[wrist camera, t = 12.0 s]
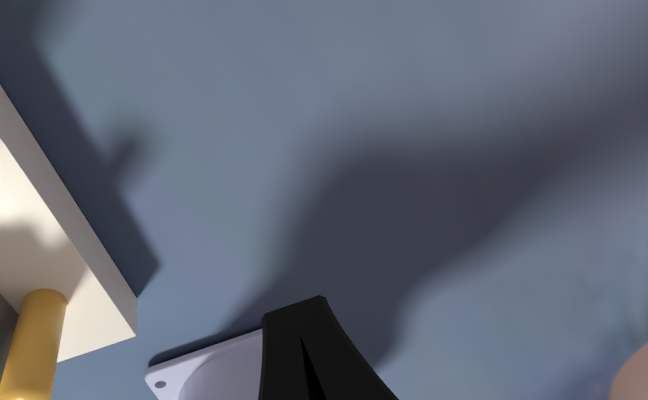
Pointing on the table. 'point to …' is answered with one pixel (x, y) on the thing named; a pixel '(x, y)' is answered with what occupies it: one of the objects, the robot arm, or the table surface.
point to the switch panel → (50, 269)
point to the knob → (6, 331)
